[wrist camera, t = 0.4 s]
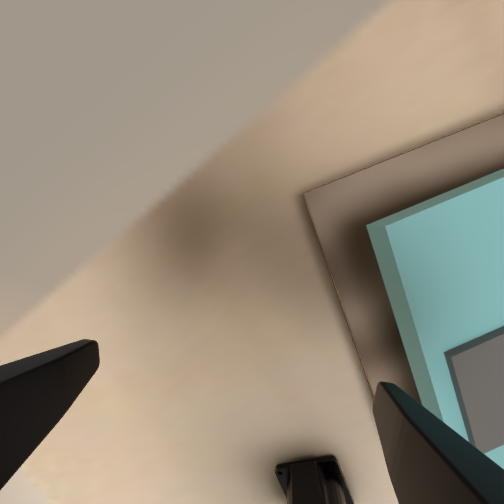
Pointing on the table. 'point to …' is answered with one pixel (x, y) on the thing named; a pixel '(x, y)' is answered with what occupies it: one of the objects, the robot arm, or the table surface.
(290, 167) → the table surface
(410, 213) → the plate
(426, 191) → the base
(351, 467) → the table surface
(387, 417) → the robot arm
